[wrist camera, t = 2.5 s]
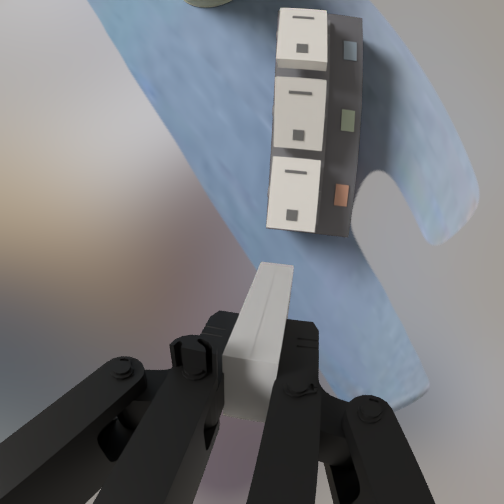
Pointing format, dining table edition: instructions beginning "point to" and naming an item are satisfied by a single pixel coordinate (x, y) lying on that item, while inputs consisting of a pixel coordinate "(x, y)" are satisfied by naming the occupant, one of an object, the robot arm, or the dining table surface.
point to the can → (207, 3)
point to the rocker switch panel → (334, 124)
